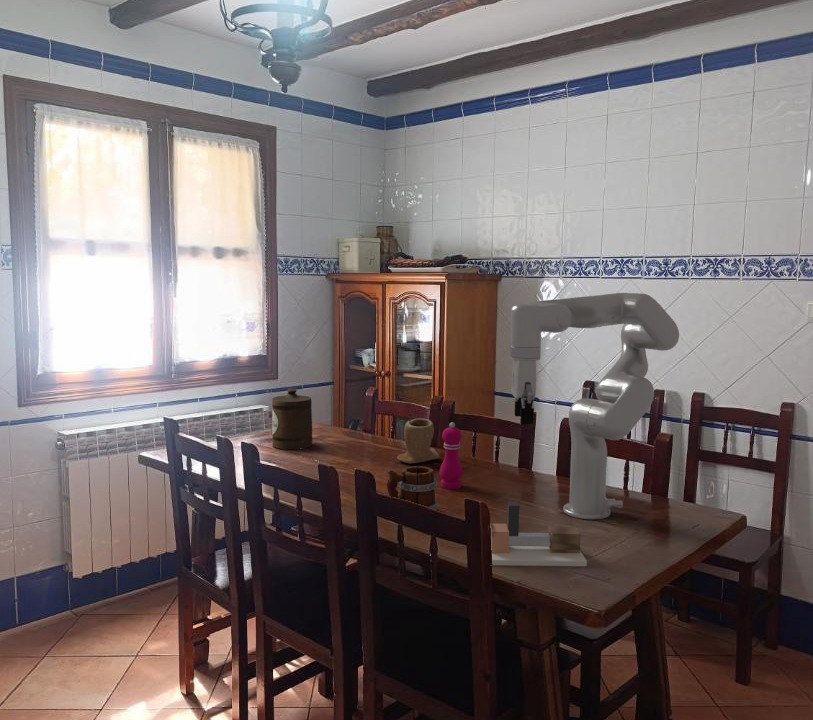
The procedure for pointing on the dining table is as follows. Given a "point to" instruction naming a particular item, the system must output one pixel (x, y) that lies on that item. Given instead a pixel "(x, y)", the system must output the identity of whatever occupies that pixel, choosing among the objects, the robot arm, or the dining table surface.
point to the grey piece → (523, 538)
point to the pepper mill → (451, 458)
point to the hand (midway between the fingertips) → (523, 420)
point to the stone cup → (418, 441)
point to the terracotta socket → (499, 538)
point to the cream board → (537, 557)
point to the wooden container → (292, 421)
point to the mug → (414, 485)
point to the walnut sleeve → (564, 540)
